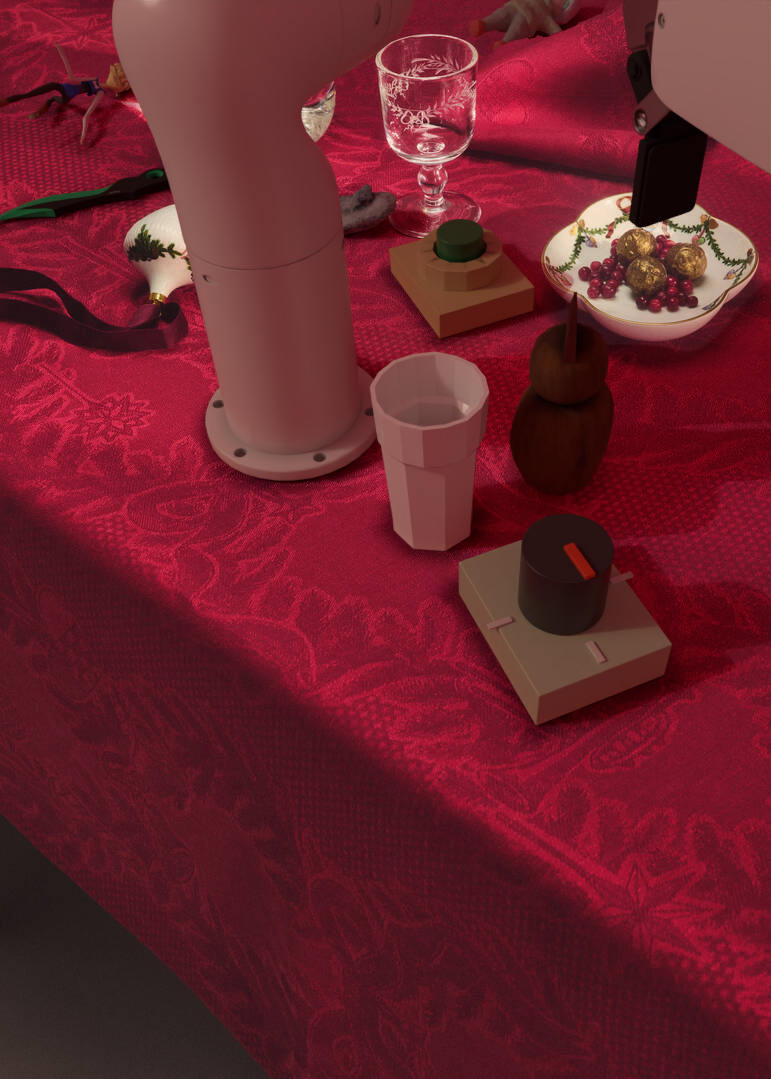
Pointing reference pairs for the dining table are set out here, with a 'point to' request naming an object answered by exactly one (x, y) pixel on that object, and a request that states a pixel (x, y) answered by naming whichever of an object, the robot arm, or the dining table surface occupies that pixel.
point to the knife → (92, 196)
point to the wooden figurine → (564, 409)
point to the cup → (430, 444)
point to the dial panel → (561, 639)
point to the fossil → (366, 209)
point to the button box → (461, 285)
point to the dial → (564, 573)
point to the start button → (459, 240)
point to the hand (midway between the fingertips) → (730, 270)
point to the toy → (526, 19)
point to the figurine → (74, 91)
